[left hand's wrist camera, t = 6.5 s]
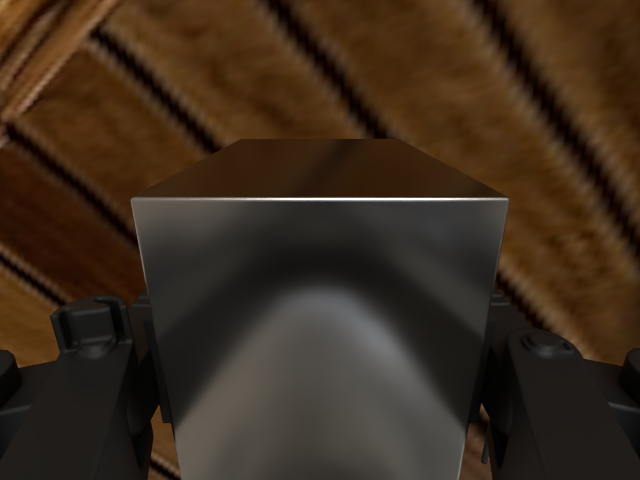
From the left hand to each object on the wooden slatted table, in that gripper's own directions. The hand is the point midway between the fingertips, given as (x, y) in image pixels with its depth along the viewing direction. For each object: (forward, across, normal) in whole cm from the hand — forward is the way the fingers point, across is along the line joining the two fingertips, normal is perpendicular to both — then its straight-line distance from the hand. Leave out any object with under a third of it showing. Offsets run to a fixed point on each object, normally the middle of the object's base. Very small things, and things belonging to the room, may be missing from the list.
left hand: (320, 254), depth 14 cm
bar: (+1, 0, -7) cm, 7 cm away
